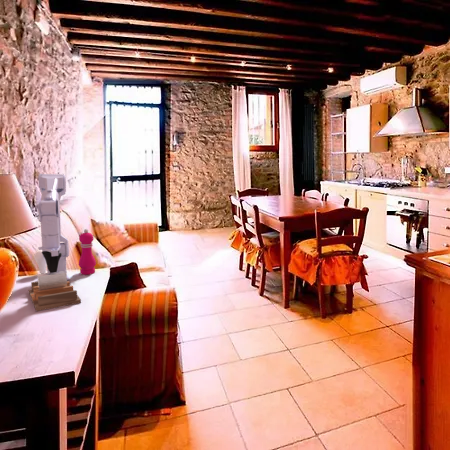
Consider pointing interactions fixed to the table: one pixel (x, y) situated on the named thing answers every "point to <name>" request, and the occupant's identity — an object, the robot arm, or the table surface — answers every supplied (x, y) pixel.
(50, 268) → the robot arm
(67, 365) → the table surface
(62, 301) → the rack
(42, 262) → the lightbulb
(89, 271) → the pepper mill
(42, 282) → the wooden block
